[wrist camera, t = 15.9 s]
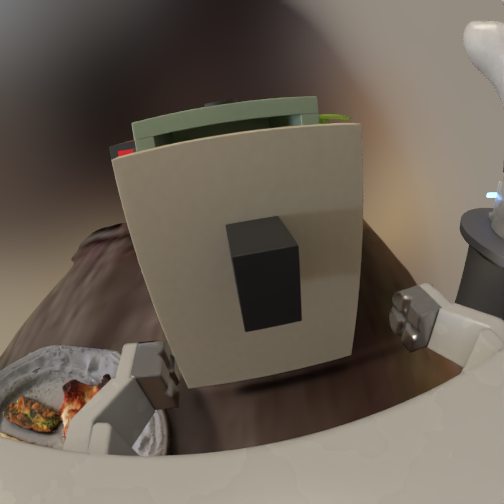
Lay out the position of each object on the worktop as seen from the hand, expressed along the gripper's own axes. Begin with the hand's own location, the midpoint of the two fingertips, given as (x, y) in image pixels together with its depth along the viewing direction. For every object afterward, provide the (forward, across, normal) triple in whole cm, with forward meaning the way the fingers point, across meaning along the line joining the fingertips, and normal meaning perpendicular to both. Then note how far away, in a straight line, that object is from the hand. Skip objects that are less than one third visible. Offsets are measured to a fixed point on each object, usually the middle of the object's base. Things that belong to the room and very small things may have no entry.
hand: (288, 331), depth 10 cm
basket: (+13, 0, +12) cm, 18 cm away
